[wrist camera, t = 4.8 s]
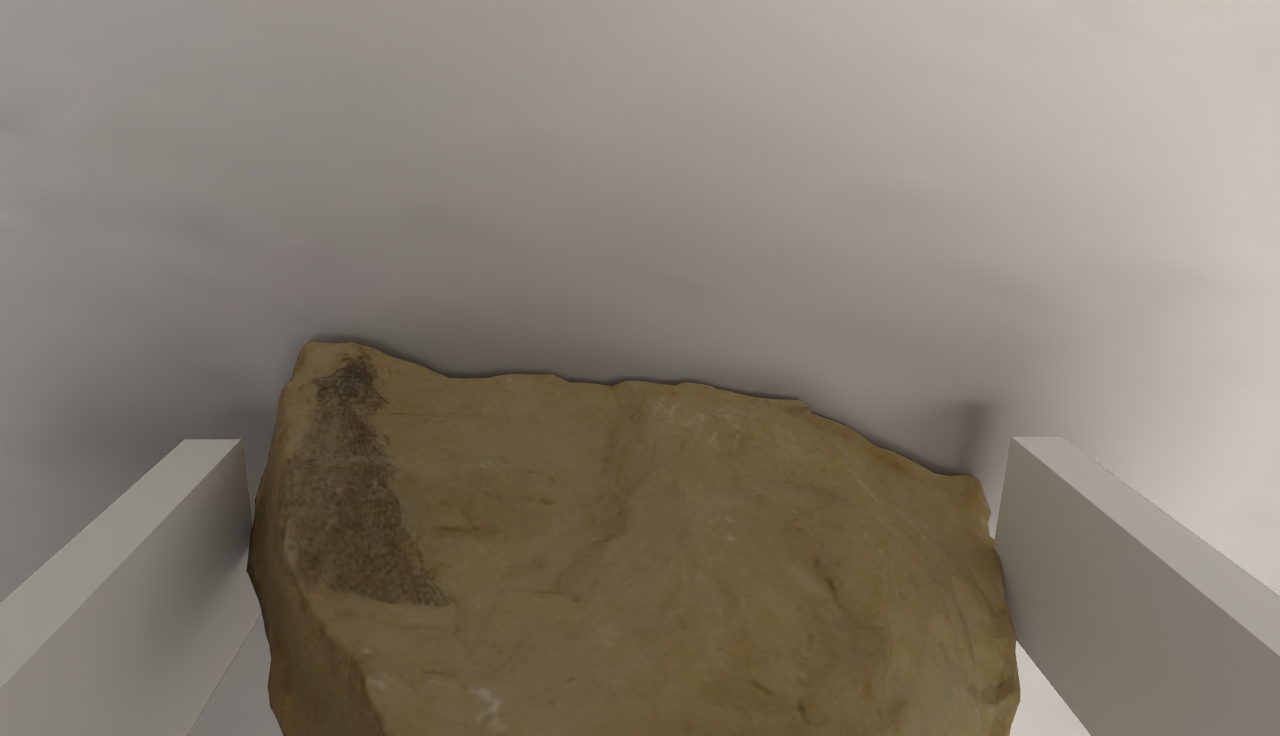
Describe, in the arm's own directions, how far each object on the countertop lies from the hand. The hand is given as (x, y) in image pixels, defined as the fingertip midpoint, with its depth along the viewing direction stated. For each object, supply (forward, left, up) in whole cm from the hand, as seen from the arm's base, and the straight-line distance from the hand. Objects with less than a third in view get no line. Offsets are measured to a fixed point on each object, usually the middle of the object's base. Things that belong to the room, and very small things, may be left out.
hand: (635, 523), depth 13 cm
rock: (0, 0, -2) cm, 2 cm away
